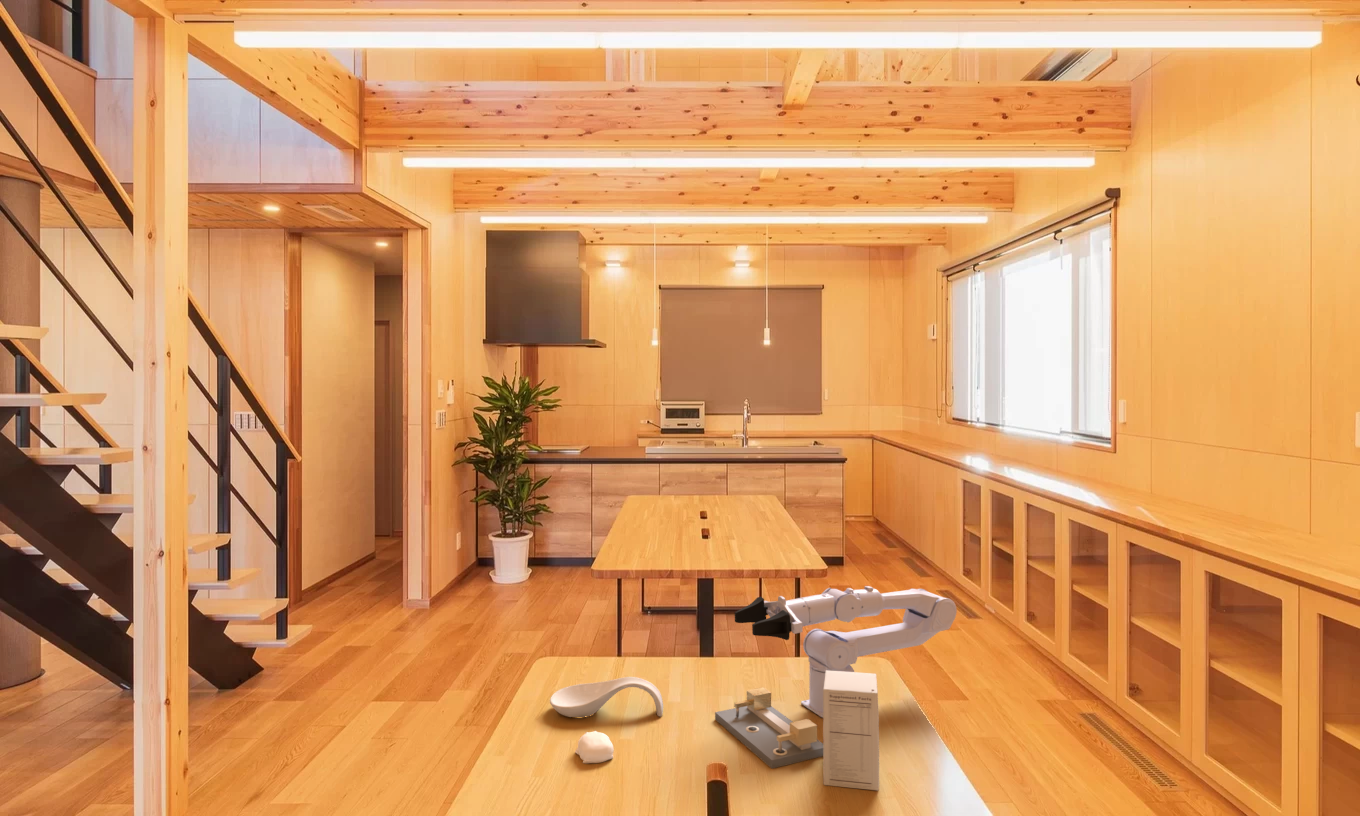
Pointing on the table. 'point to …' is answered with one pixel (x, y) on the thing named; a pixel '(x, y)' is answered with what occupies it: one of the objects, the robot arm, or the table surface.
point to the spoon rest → (598, 696)
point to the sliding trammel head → (755, 700)
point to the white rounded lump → (595, 747)
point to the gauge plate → (772, 735)
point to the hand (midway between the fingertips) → (743, 623)
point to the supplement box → (851, 730)
